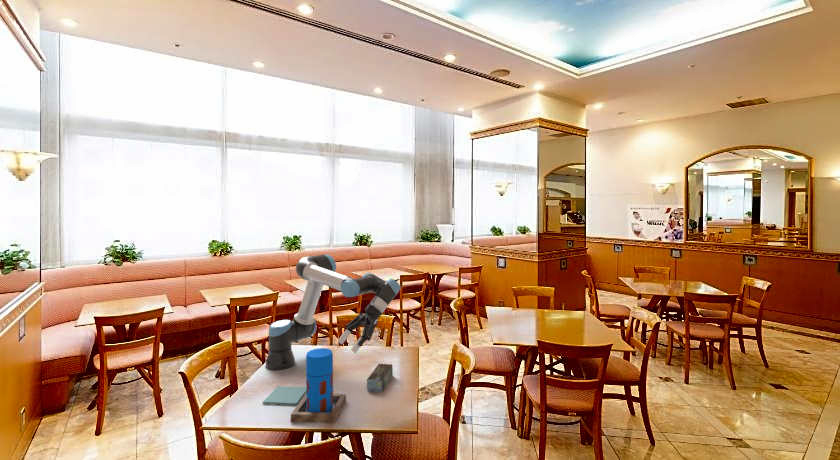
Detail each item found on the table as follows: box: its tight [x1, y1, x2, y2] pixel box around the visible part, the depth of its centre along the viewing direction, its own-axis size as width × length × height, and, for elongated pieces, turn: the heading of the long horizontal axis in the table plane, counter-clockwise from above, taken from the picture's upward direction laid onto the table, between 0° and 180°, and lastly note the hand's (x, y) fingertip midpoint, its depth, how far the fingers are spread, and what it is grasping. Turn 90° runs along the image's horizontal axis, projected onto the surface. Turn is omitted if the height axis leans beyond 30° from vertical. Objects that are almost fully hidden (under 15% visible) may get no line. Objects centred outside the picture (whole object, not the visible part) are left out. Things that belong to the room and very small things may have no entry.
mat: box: [262, 385, 306, 406], centre depth 173 cm, size 15×15×1 cm
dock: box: [290, 393, 347, 424], centre depth 161 cm, size 18×18×3 cm
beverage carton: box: [366, 363, 394, 393], centre depth 188 cm, size 8×19×7 cm, turn 168°
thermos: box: [305, 347, 334, 413], centre depth 160 cm, size 11×11×25 cm
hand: (346, 347), depth 167 cm, fingers open, 13 cm apart
